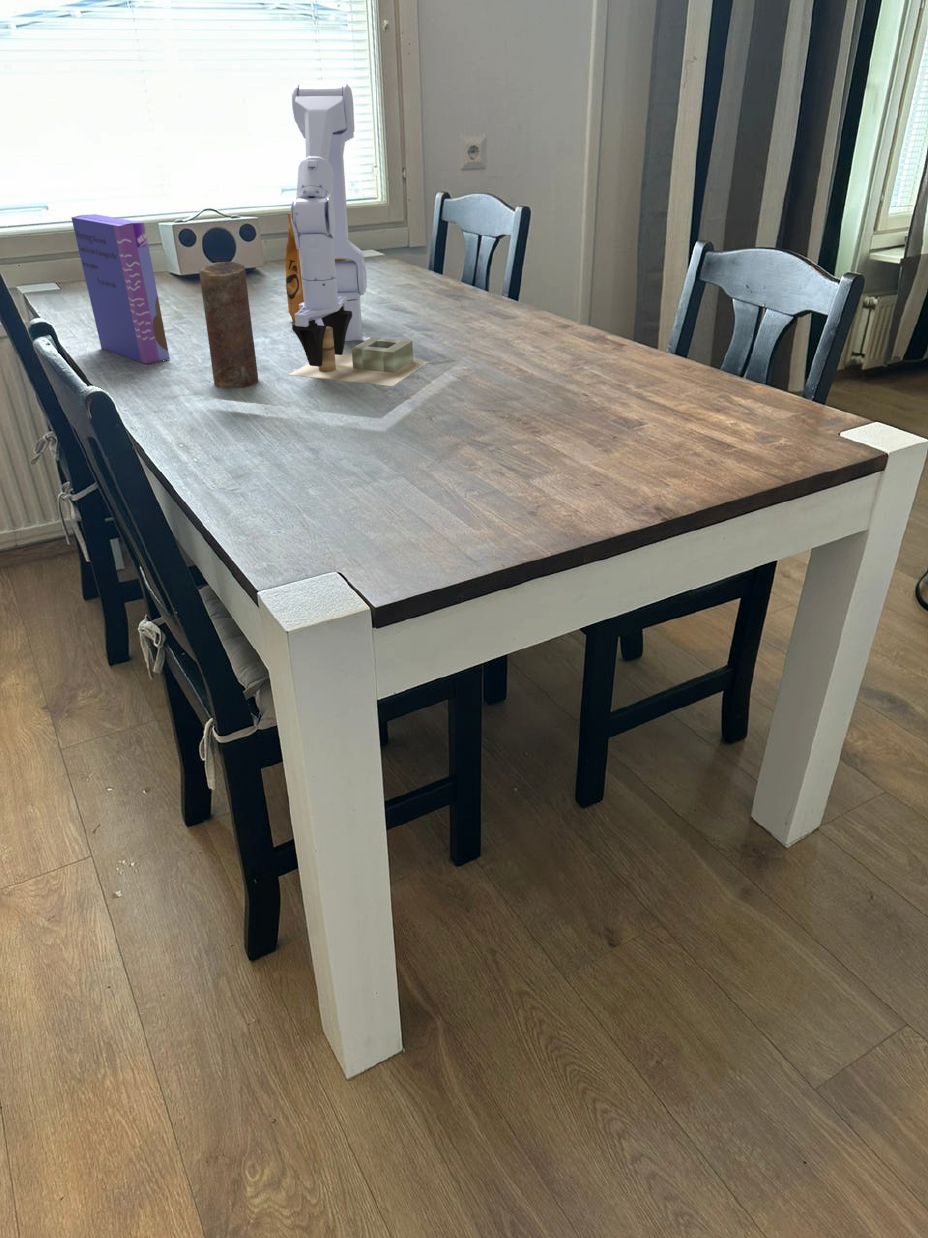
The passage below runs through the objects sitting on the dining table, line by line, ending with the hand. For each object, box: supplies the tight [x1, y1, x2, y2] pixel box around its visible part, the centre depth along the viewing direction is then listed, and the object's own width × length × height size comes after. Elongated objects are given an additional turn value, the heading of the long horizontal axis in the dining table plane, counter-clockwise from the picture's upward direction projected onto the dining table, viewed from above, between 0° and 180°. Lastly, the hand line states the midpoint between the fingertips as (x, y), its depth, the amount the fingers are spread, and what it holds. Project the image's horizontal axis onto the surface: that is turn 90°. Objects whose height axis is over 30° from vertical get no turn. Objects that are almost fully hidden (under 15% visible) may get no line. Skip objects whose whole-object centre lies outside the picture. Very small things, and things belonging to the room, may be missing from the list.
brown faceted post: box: [198, 261, 259, 390], centre depth 142 cm, size 8×7×20 cm
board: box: [287, 336, 429, 387], centre depth 152 cm, size 20×15×5 cm
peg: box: [319, 326, 336, 372], centre depth 151 cm, size 3×3×7 cm
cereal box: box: [71, 213, 170, 366], centre depth 162 cm, size 17×5×24 cm, turn 47°
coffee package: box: [284, 211, 347, 323], centre depth 183 cm, size 10×12×22 cm
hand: (326, 359), depth 152 cm, fingers open, 7 cm apart
